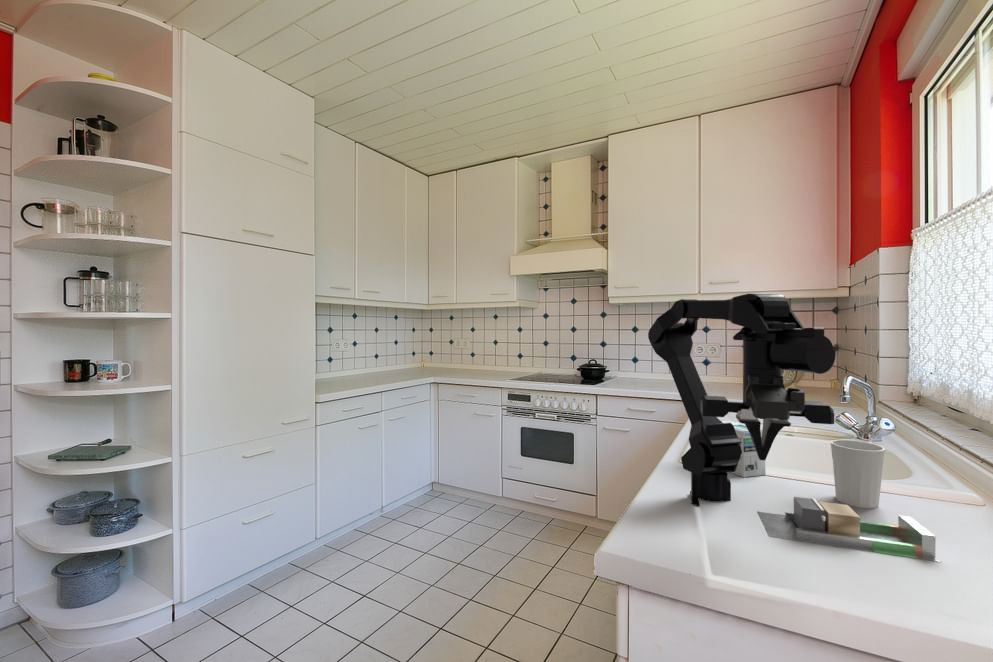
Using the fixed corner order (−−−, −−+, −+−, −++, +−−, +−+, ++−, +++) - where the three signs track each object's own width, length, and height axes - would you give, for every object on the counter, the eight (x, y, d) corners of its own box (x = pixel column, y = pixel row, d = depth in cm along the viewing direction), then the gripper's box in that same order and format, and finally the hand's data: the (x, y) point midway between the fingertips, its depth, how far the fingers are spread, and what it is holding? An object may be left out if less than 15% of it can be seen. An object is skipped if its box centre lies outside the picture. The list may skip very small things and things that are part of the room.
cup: (895, 518, 78) (895, 452, 78) (844, 514, 80) (845, 449, 80) (867, 501, 86) (867, 440, 86) (821, 498, 88) (822, 438, 88)
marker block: (828, 538, 68) (828, 513, 68) (818, 525, 73) (818, 501, 73) (859, 543, 67) (860, 517, 67) (847, 529, 72) (847, 504, 72)
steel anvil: (921, 554, 64) (922, 534, 64) (898, 533, 70) (898, 515, 70) (935, 556, 63) (935, 536, 63) (910, 535, 70) (910, 516, 70)
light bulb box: (766, 475, 101) (767, 429, 101) (743, 478, 99) (743, 431, 99) (730, 461, 112) (730, 419, 111) (708, 464, 110) (708, 421, 109)
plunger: (803, 535, 69) (803, 509, 69) (793, 519, 74) (793, 495, 74) (826, 538, 68) (826, 511, 68) (814, 522, 73) (814, 498, 73)
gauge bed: (769, 543, 69) (769, 528, 69) (757, 518, 79) (757, 504, 79) (941, 570, 62) (941, 553, 62) (905, 538, 71) (905, 523, 71)
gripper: (705, 370, 70) (705, 467, 70) (848, 374, 63) (847, 482, 63) (700, 364, 80) (700, 449, 80) (822, 367, 73) (822, 460, 73)
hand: (761, 459), depth 74 cm, fingers closed
